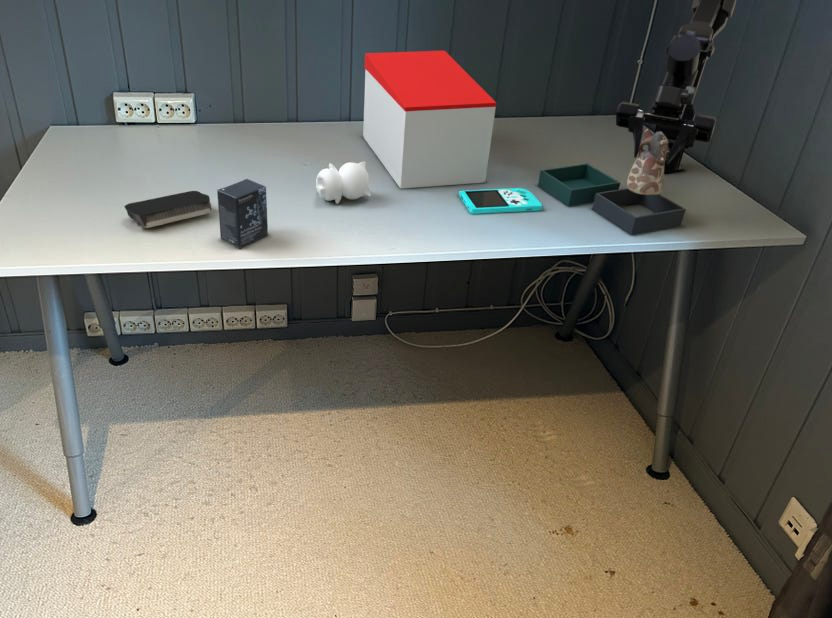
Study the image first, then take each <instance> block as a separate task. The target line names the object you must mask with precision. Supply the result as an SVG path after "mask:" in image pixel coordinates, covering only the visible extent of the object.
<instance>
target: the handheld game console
mask: <svg viewBox="0 0 832 618" xmlns="http://www.w3.org/2000/svg"><path fill="white" fill-rule="evenodd" d="M458 197H459V198H460V199H461V201H462V203H463V204H464V206H465V207H466V209H467V210H468V211H469V213H470V214H472V215H476V214H478V215H481V214H497V213H517V212H536V211H537V212H538V211H542V209H543V204H542V203H541V202H540V201H539V199H538V198H537V197H536V196H535V195H534V194H533V193H532V192H531V191H529V190H528V189H526V188H522V187H509V188H489V189H488V188H487V189H468V190H467V189H466V190H465V189H464V190H459V193H458Z"/></svg>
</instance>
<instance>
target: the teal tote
mask: <svg viewBox="0 0 832 618" xmlns="http://www.w3.org/2000/svg"><path fill="white" fill-rule="evenodd" d="M620 186H621V181H618V180H617V179H616V178H613V177H612V176H610V175H608V174H606V173H605V172H603V171H601V170H600V169H598V168H596V167H595V166H593V165H591V164H590V163H581V164H574V165H566V166H561V167H551V168H547V169H540V171H539V177H538V183H537V187H539V188H540V189H542V190H543V191H545V192H546V193H547V194H549V195H551V196H552V197H554V198H555V199H557V200H558V201H559V202H561V203H562V204H564V205H565V206H567V207H574V206H580V205H585V204H586V205H587V204H593V203H594V198H595V194H596V193H600V192H607V191H613V190H619V189H620Z"/></svg>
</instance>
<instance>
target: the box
mask: <svg viewBox="0 0 832 618" xmlns="http://www.w3.org/2000/svg"><path fill="white" fill-rule="evenodd" d="M216 193H217V195H216V196H217V206H218V220H219V221H218V222H219V234H220V240H221V241H223V242H225V243H226V244H229V245H231V246H233V247H235V248H237V249H242V248H243V247H244V246H248V245H249V244H251V243H254V242H256V241H258V240H261V239H262V238H265V237H268V236H269V226H268V205H267V204H268V201H267V186H265V185H263V184H261V183H258V182H256V181H254V180H252V179H249V178H245V179H243V180H241V181H238V182H235V183H233V184H230V185H227V186H225V187H221V188H218V189H217V191H216Z"/></svg>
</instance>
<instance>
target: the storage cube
mask: <svg viewBox="0 0 832 618" xmlns="http://www.w3.org/2000/svg"><path fill="white" fill-rule="evenodd" d="M364 70H365V71H364V74H365V75H364V99H363V101H364V102H363V105H364V107H363V129H362V130H363V131H362V133H363V134H362V138H363V139H364V140H365V142H366V143H367V144H368V145H369V147H370V148H371V150H372V151H373V153H374V154H375V155H376V157H377V159H378V160H379V162H381V164H382V165H383V166H384V168H385V170H386V171H387V172H388V173H389V175H390V176H391V178H392V179H393V180H394V182H395V183H396V184H397V185H398V187H399V189H402V190H403V189H416V188H429V187H430V188H431V187H441V186H442V187H443V186H455V185H469V184H481V183H482V184H483V183H486V180H487V172H488V165H489V159H490V151H491V143H492V138H493V131H494V130H493V129H494V123H495V116H496V107H497V101H495V100H494V99H493V98H492V96H490V95H489V94H488V93H487V91H486V90H484V88H483V87H481V86H480V85H479V84H478V83H477V82H476V81H475V79H473V78H472V77H471V76H470V75H469V74H468V72H466V71H465V69H463V67H461V65H459V64H458V63H457V61H456V60H455V59H454V58H452V56H451V55H450V54H449V53H448V52H447V51H445V50H425V51H424V50H422V51H396V52H366V53H364Z"/></svg>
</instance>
